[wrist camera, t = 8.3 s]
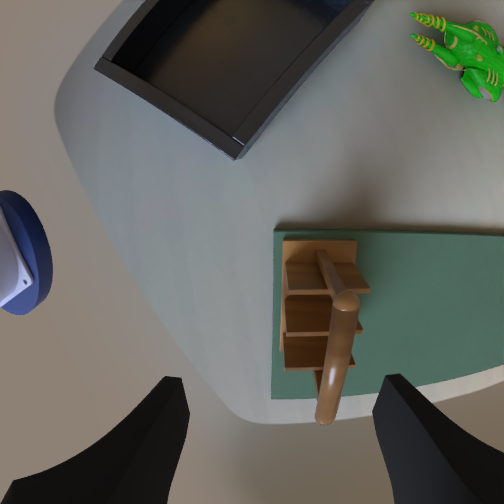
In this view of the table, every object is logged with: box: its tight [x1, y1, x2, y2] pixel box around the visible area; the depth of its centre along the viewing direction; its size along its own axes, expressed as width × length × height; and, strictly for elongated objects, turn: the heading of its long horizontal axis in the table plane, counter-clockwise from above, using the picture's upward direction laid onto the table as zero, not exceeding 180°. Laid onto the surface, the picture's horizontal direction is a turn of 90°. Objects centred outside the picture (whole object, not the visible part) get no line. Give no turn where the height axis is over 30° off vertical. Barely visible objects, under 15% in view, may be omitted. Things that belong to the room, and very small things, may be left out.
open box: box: [94, 0, 375, 160], centre depth 12 cm, size 12×10×4 cm
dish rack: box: [280, 239, 371, 425], centre depth 15 cm, size 8×4×7 cm, turn 1°
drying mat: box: [271, 229, 504, 399], centre depth 19 cm, size 34×14×1 cm, turn 91°
